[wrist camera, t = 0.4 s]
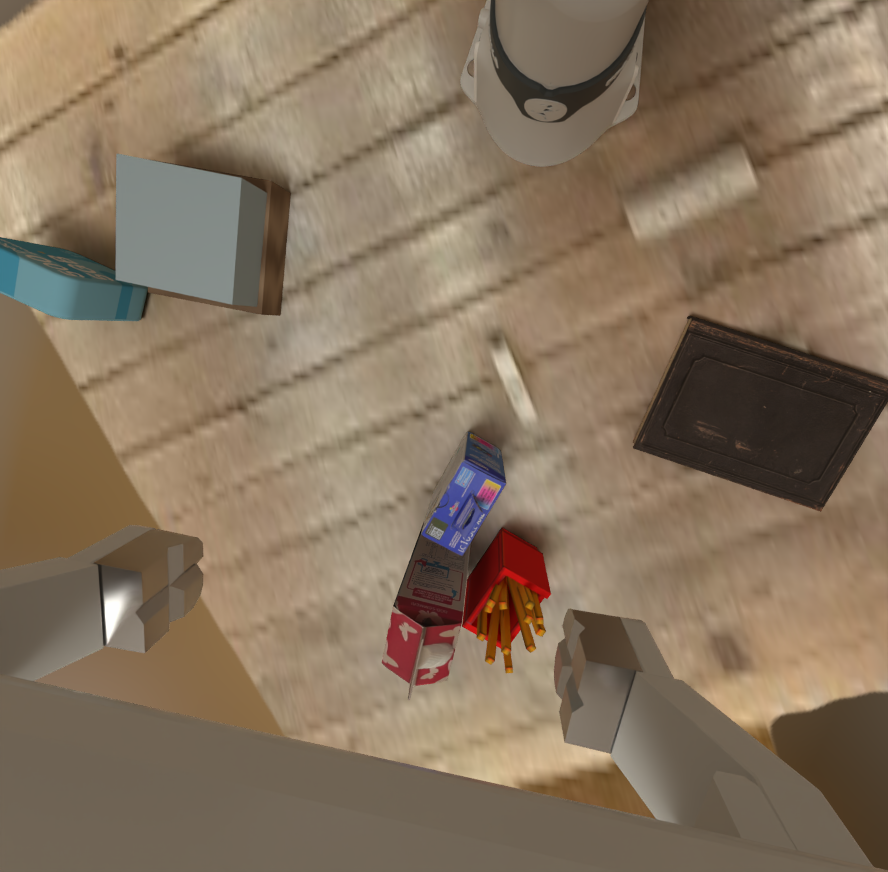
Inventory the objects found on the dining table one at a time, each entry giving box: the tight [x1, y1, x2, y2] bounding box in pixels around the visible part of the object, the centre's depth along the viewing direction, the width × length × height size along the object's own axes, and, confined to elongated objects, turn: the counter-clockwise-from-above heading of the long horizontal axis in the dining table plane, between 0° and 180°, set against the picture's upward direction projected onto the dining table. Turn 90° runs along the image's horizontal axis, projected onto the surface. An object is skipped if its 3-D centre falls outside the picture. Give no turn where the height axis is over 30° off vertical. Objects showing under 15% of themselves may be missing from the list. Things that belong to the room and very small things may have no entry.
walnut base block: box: [148, 160, 291, 316], centre depth 52 cm, size 14×14×5 cm
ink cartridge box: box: [421, 432, 506, 556], centre depth 50 cm, size 10×6×14 cm, turn 153°
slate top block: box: [116, 154, 267, 307], centre depth 47 cm, size 12×13×5 cm
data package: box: [0, 237, 148, 321], centre depth 51 cm, size 12×4×12 cm, turn 66°
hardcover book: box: [633, 316, 888, 511], centre depth 51 cm, size 16×23×2 cm
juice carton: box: [382, 523, 471, 700], centre depth 50 cm, size 7×7×22 cm
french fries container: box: [462, 528, 551, 673], centre depth 53 cm, size 7×9×14 cm
